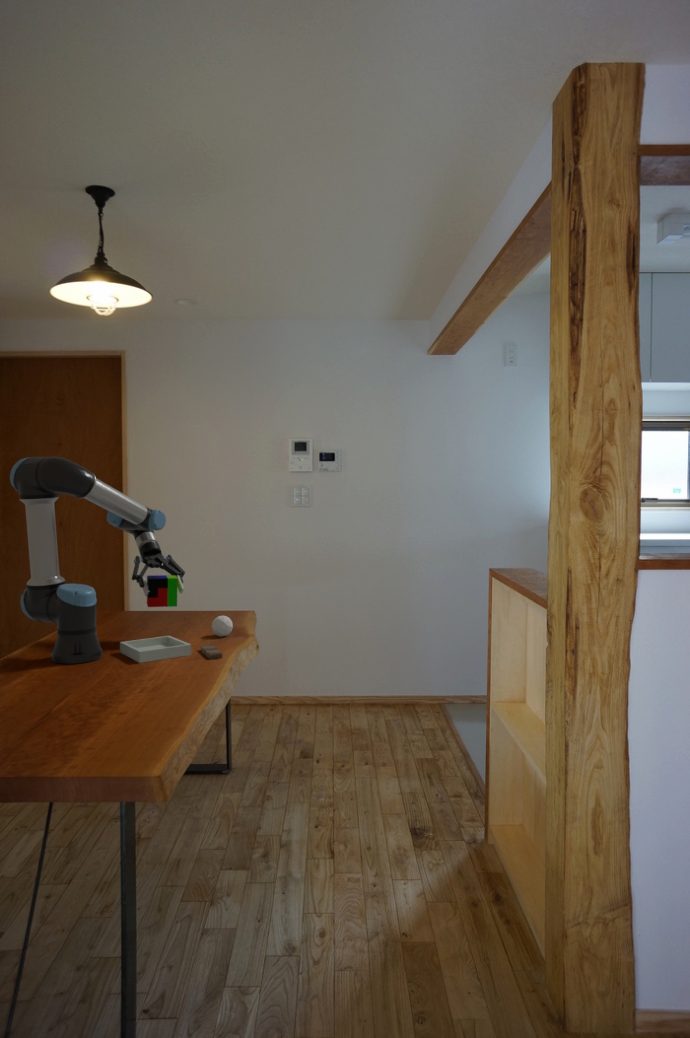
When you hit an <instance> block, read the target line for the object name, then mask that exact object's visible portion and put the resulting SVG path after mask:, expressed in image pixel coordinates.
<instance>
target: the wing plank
mask: <svg viewBox="0 0 690 1038" xmlns="http://www.w3.org/2000/svg"><path fill="white" fill-rule="evenodd" d="M200 652H202V653H203V654H204V655H205V656H206V657H207V659H209V660H219V659H218V658H221V659H223V653H222V652H221V651H220V650H219V649H217V647H216V646H214V645H213V644H205V645H200Z"/></svg>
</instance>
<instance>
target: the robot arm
mask: <svg viewBox="0 0 690 1038" xmlns="http://www.w3.org/2000/svg"><path fill="white" fill-rule="evenodd" d="M9 481H10V484H11V486H12V488H14V490H15V492H18V497H19V498H18V499H19V501H20V502H22V503H23V504H24V506H25V518H26V531H27V541H28V542H27V544H28V554H29V570H30V579H29V580H28V581H26V588H25V589H24V590H23V594H21V596H20V607H21V611H22V613H23V614H24V615H25V616H26V617H27V618H29V619H31V620H33V621H37V622H41V623H50V624H51V623H52V624H56V625H57V627H56V629H57V632H56V633H57V636H56V639H55V642H54V646H53V650H52V652H51V661H52V662H53V663H56V664H65V665H66V664H69V665H71V664H82V663H83V664H84V663H89V662H93V661H94V662H95V661H98V660H100V659H101V658H103V648H102V647H101V645H100V640H99V638H98V634H97V602H98V601H97V600H98V599H97V592H96V590H95V588H94V587H92V586H91V585H88V584H83V583H66V579H65V578H64V577H63V576H61V574H60V564H59V551H58V539H57V538H58V537H57V524H56V511H55V502H57V500H58V499H59V497H60V496H59V494H61V495H62V494H63V495H69V496H71V497H74V498H76V499H85V500H87V501H88V502H91V503H92V504H94V505H97V506H98V507H100V508H102V509H103V510H105V511H107V514H106V522H107V523H108V524H109V525H112V526H113V527H114V528H117V529H119V530H122V531H124V532H125V533H128V534H131V535H132V536H133V537H134V540H135V544H136V546H137V549H138V553H139V555H140V556H139V555H136V556H135V557H134V560H133V562H134V567H133V570H132V574H131V575H132V576H131V580H132V581H136V583H137V584H138V586H139V587H140V588H141V589H142V591H143V593H144V597H147V596H148V592H150V591H149V590H148V585H147V578H146V577H145V576H144V575H145V574H146V573H147V571H148V569H149V568H150V569H154V568H156V569H161V570H164V571H166V573H168V575H175V576H176V577H177V578H178V584H177V591H178V592H179V594H183V592H184V590H185V587H184V579H183V578H184V576H185V574H186V572H185V569H183V568H182V567H181V566H180V565H179V564H178V563H177V561H175V560H174V559H173V557H172V555H171V554H167V556H164V555H163V552H162V550H161V547H160V544H159V541H158V539H157V537H156V533H155V531H156V532H157V531H161V530H163V529H164V528H165V526H166V522H167V517H166V515H165V512H164V511H163V510H160V509H156V508H155V509H152V508H149V507H147V506H146V505H144V504H142V503H141V502H138V501H137V500H135V499H133V498H131V497H130V496H128V495H126V494H125V493H123V492H122V491H119V490H117V489H116V488H114V487H113V486H111V485H109V484H107V483H106V482H104V481H102V480H101V479H98V478H96V475H95V473H94V472H92V471H91V470H89V469H87V468H85V467H84V466H83V465H82V466H81V465H80V464H79V463H76V462H73V461H72V460H70V459H67V458H64V457H61V456H31V457H30V456H29V457H25V458H21V459H19V460H18V461H16V463H15V464H13V466H12V467H11V470H10V474H9ZM141 563H142V564H144V567H143V568H142V569H141V571H140V572H139V568H140V564H141ZM138 572H139V574H138Z"/></svg>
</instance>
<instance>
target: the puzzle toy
mask: <svg viewBox="0 0 690 1038" xmlns="http://www.w3.org/2000/svg"><path fill="white" fill-rule="evenodd" d="M146 582H147V585H148V590H149V591H150V592H148V596H146V605H147V608H164V607H166V608H167V607H169V608H170V607H171V608H172V607H173V608H175V607H178V587H177V584H178V578H177V577H176V576H175V575H171V574H166V575H159V574H158V575H157V574H156V575H152V574H151V575H150V574H149V575H147V576H146Z"/></svg>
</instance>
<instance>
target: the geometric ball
mask: <svg viewBox="0 0 690 1038" xmlns="http://www.w3.org/2000/svg"><path fill="white" fill-rule="evenodd" d="M233 626H234V625H233V620H232V619H231V618H230V617H228V616H226V615H219V616H217V617H216V618H214V619H213V621H212V622H211V631H212V632H213V633H214V635H216V636H218V637H220V638H221V637H228V635H230V633H231V632H232V630H233V628H234V627H233Z"/></svg>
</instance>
